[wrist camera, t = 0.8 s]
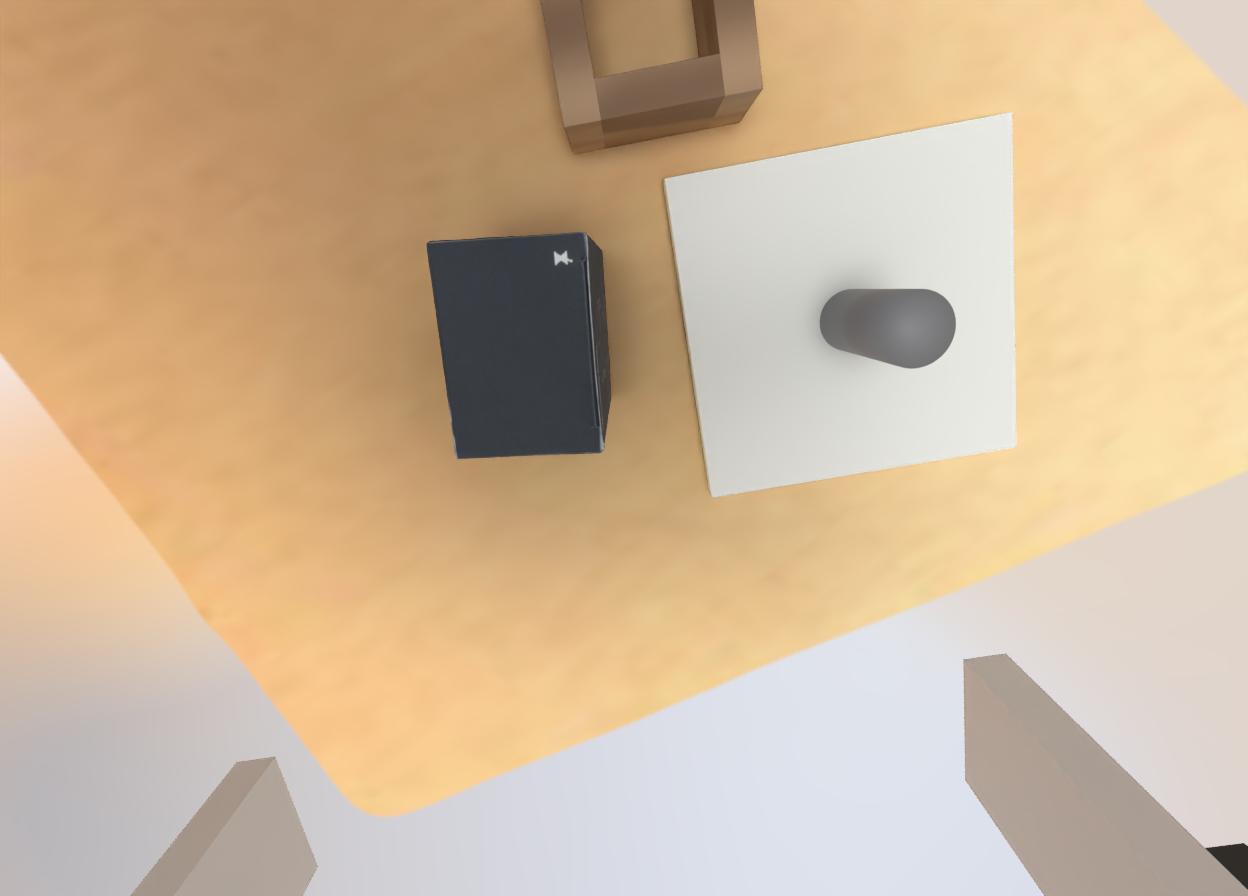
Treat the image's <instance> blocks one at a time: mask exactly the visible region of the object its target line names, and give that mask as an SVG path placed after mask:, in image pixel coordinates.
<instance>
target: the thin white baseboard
mask: <svg viewBox="0 0 1248 896" xmlns="http://www.w3.org/2000/svg"><path fill="white" fill-rule="evenodd" d="M663 186H664V193H665V199H666V206H667V213H668V220H669V226H670V233H671V240H672V246H673V253H674V260H675V267H676V273H677V280H678V287H679V293H680V300H681V307H682V314H683V320H684V327H685V334H686V340H687V347H688V354H689V361H690V367H691V374H692V381H693V387H694V394H695V401H696V408H697V414H698V421H699V428H700V434H701V441H702V448H703V454H704V461H705V468H706V475H707V481H708V488H709V492H710V494H711V497H712V498H714V497H720V496H726V495H732V494H738V493H744V492H750V491H756V490H762V489H768V488H774V487H780V486H786V485H792V484H798V483H804V482H810V481H816V480H822V479H828V478H834V477H841V476H847V475H853V474H859V473H865V472H871V471H877V470H883V469H889V468H895V467H901V466H907V465H913V464H919V463H925V462H931V461H937V460H943V459H949V458H955V457H961V456H967V455H973V454H979V453H985V452H991V451H997V450H1003V449H1009V448H1015V447H1016V380H1015V300H1014V221H1013V141H1012V112H1010V113H1005V114H1000V115H994V116H989V117H984V118H979V119H973V120H968V121H963V122H958V123H952V124H947V125H942V126H937V127H932V128H926V129H921V130H916V131H911V132H905V133H900V134H895V135H890V136H884V137H879V138H874V139H869V140H863V141H858V142H853V143H848V144H843V145H837V146H832V147H827V148H822V149H816V150H811V151H806V152H801V153H795V154H790V155H785V156H780V157H774V158H769V159H764V160H759V161H754V162H748V163H743V164H738V165H733V166H727V167H722V168H717V169H712V170H706V171H701V172H696V173H691V174H686V175H680V176H675V177H670V178H665V179H664V182H663Z"/></svg>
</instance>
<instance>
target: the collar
mask: <svg viewBox="0 0 1248 896" xmlns="http://www.w3.org/2000/svg"><path fill="white" fill-rule="evenodd" d="M541 4H542V9H543V15H544V20H545V25H546V31H547V36H548V42H549V47H550V53H551V58H552V64H553V69H554V75H555V80H556V85H557V91H558V96H559V102H560V107H561V113H562V118H563V124H564V128H565V131H566V134H567V136H568V139H569V142H570V144H571V147H572V150H573V152H574V154H579V153H584V152H589V151H594V150H599V149H605V148H610V147H615V146H620V145H625V144H630V143H636V142H641V141H646V140H651V139H656V138H661V137H666V136H672V135H677V134H682V133H687V132H692V131H697V130H702V129H708V128H713V127H718V126H723V125H728V124H733V123H739V122H740V121H741V119H742V118H743V117H744V115H745V114H746V112H747V111H748V109H749V108H750V106H751V105H752V103H753V102H754V101H755V99H756V98H757V96H758V95H759V93H760V92H761V90H762V89H763V85H762V76H761V66H760V57H759V47H758V38H757V29H756V19H755V10H754V0H692V6H693V14H694V22H695V29H696V37H697V45H698V53H699V58H695V59H690V60H685V61H680V62H675V63H670V64H665V65H660V66H655V67H650V68H645V69H640V70H635V71H630V72H625V73H620V74H615V75H610V76H605V77H600V78H595V79H594V76H593V70H592V64H591V58H590V52H589V46H588V40H587V34H586V29H585V23H584V17H583V11H582V5H581V0H541Z"/></svg>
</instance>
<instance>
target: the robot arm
mask: <svg viewBox="0 0 1248 896" xmlns="http://www.w3.org/2000/svg"><path fill="white" fill-rule="evenodd" d="M964 715H965V716H964V719H965V721H964V722H965V780H966V782H967V783H968V784H969V786H970V788H971V789H972V790H973V792H974V794H975V795H976V796H977V798H978V799H979V801H980V802H981V804H982V805H983V807H984V808H985V810H986V811H987V813H988V814H989V815H990V817H991V818H992V820H993V821H994V823H995V824H996V826H997V827H998V829H999V830H1000V831H1001V833H1002V834H1003V836H1004V837H1005V839H1006V840H1007V842H1008V843H1009V845H1010V846H1011V848H1012V849H1013V850H1014V852H1015V853H1016V855H1017V856H1018V858H1019V859H1020V861H1021V862H1022V864H1023V865H1024V867H1025V868H1026V870H1027V871H1028V872H1029V874H1030V875H1031V877H1032V878H1033V880H1034V881H1035V883H1036V884H1037V885H1038V887H1039V889H1040V890H1041V891H1042V893H1043V894H1044V896H1248V846H1247V845H1245V844H1244V843H1242V844H1234V845H1226V846H1219V847H1212V848H1204V847H1203V846H1202V845H1201V844H1200V843H1199V842H1198V841H1197V840H1196V839H1195V838H1194V837H1193V836H1192V835H1191V834H1190V833H1189V832H1188V831H1187V830H1186V829H1185V828H1184V827H1183V826H1182V825H1181V824H1180V823H1179V822H1178V821H1176V819H1174V817H1173V816H1171V814H1169V813H1168V812H1167V811H1166V810H1165V809H1164V808H1163V807H1162V806H1161V805H1160V804H1159V803H1158V802H1157V801H1156V800H1155V799H1154V798H1153V797H1152V796H1151V795H1150V794H1149V793H1148V792H1147V791H1146V790H1145V789H1144V788H1143V787H1142V786H1141V785H1140V784H1139V783H1137V781H1136V780H1135V779H1134V778H1133V777H1132V776H1131V775H1130V774H1129V773H1128V772H1127V771H1125V770H1124V769H1123V768H1122V767H1121V766H1120V765H1119V764H1118V763H1117V762H1116V761H1115V760H1114V759H1113V758H1112V757H1111V756H1110V755H1109V754H1108V753H1107V752H1106V751H1105V750H1104V749H1103V748H1102V747H1101V746H1100V745H1099V744H1098V743H1097V742H1096V741H1095V740H1094V739H1093V738H1092V737H1091V736H1090V735H1089V734H1088V733H1087V732H1086V731H1085V730H1084V729H1083V728H1081V727H1080V726H1079V725H1078V724H1077V723H1076V722H1075V721H1074V720H1073V719H1072V718H1071V717H1070V716H1069V715H1068V714H1067V713H1066V712H1065V711H1064V710H1063V709H1062V708H1061V707H1060V706H1059V705H1058V704H1057V703H1056V702H1055V701H1054V700H1053V699H1052V698H1051V697H1050V696H1049V695H1048V694H1047V693H1046V692H1045V691H1044V690H1042V688H1040V686H1038V684H1036V683H1035V682H1034V681H1033V680H1032V679H1031V678H1030V677H1029V676H1028V675H1027V674H1026V673H1025V672H1024V671H1023V670H1022V669H1021V668H1020V667H1019V666H1018V665H1017V664H1016V663H1015V662H1014V661H1013V660H1012V659H1011V658H1010V657H1009V656H1008V655H1007V654H999V655H992V656H985V657H978V658H972V659H964ZM317 867H318V866H317V863H316V861H315V858H314V855H313V853H312V850H311V848H310V845H309V843H308V840H307V838H306V835H305V832H304V830H303V827H302V825H301V822H300V819H299V817H298V814H297V812H296V809H295V807H294V804H293V801H292V799H291V797H290V794H289V791H288V789H287V786H286V784H285V781H284V778H283V776H282V773H281V771H280V768H279V766H278V763H277V760H276V758H275V757H270V758H263V759H256V760H249V761H242V762H237V763H236V764H235V765H234V767H233V768H232V769H231V770H230V772H229V773H228V774H227V775H226V777H225V778H224V779H223V780H222V782H221V783H220V784H219V785H218V787H217V788H216V789H215V790H214V792H213V793H212V794H211V796H210V797H209V798H208V799H207V801H206V802H205V803H204V804H203V805H202V807H201V808H200V809H199V811H198V812H197V813H196V815H194V817H193V818H192V819H191V821H190V822H189V823H188V824H187V826H186V827H185V828H184V829H183V831H182V832H181V833H180V834H179V836H178V837H177V838H176V839H175V841H174V842H173V843H172V844H171V846H170V847H169V848H168V849H167V851H166V852H165V853H164V854H163V856H162V857H161V858H160V859H159V861H158V862H157V863H156V864H155V866H154V867H153V868H152V869H151V871H150V872H149V873H148V875H147V876H146V877H145V878H144V879H143V881H142V882H141V883H140V884H139V886H138V887H137V888H136V889H135V891H134V892H133V893H132V894H131V896H303V894H304V892H305V890H306V888H307V886H308V884H309V882H310V880H311V878H312V877H313V875H314V872H315V871H316V869H317Z"/></svg>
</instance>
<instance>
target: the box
mask: <svg viewBox="0 0 1248 896" xmlns="http://www.w3.org/2000/svg"><path fill="white" fill-rule="evenodd" d="M427 253H428V260H429V268H430V274H431V280H432V287H433V295H434V303H435V309H436V317H437V324H438V331H439V338H440V345H441V352H442V360H443V367H444V374H445V381H446V389H447V397H448V403H449V410H450V417H451V425H452V431H453V440H454V448H455V456H456V458H457V459H469V458H491V457H510V456H529V455H556V454H586V453H601V452H602V451H603V450H604V447H605V446H604V443H605V435H606V428H607V420H608V413H609V407H610V401H611V383H610V361H609V347H608V330H607V316H606V301H605V288H604V272H603V257H602V250H601V249H600V248H599V247H598V246H597V245H596V244H595V242H594V241H593V240H592V239H591V238H590V237H589V236H588V235H587V233H585V232H573V233H560V234H544V235H529V236H509V237H491V238H476V239H462V240H441V241H429V242H428V243H427Z"/></svg>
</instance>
